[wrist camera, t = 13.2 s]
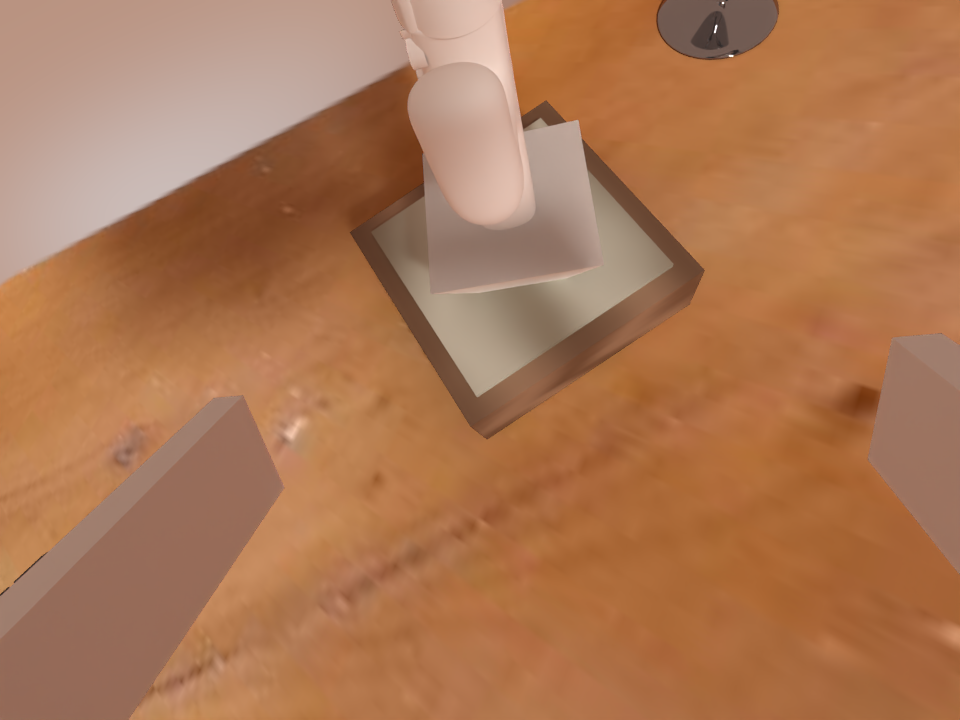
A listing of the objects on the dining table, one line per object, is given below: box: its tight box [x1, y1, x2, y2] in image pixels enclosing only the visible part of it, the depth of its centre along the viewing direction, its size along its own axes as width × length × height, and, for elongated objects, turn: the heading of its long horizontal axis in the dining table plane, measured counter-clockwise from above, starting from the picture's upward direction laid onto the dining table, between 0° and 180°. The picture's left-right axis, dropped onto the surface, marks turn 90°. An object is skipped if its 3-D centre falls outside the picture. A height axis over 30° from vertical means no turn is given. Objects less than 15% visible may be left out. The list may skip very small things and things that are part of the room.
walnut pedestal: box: [350, 101, 705, 439], centre depth 28 cm, size 13×13×4 cm
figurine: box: [391, 0, 604, 294], centre depth 19 cm, size 7×9×15 cm
